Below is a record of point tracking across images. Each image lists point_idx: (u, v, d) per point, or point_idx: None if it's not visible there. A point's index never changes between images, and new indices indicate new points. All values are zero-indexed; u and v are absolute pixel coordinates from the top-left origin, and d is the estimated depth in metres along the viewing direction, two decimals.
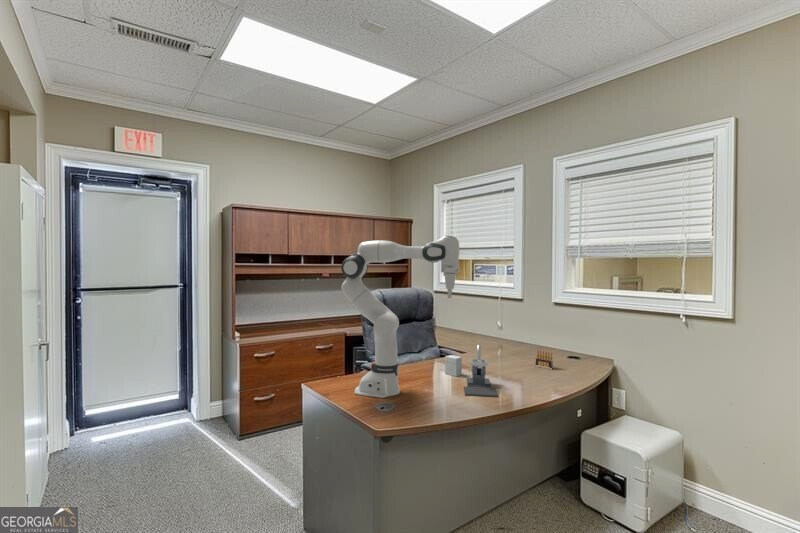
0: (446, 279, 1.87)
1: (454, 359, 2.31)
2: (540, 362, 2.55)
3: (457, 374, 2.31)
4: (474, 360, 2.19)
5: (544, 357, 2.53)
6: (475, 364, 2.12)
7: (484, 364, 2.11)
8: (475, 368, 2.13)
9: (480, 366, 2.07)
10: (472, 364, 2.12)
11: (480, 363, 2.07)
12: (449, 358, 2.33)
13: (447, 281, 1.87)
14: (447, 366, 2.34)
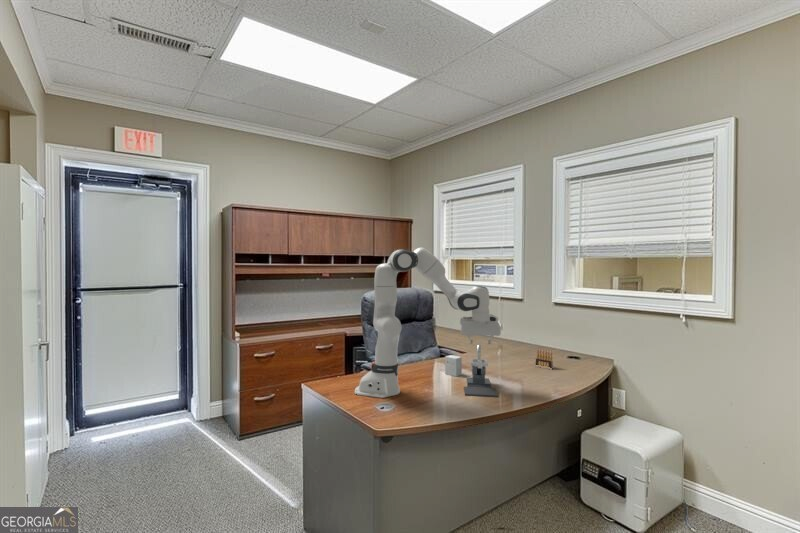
0: (499, 327, 2.06)
1: (454, 359, 2.31)
2: (540, 362, 2.55)
3: (457, 374, 2.31)
4: (474, 360, 2.19)
5: (544, 357, 2.53)
6: (475, 364, 2.12)
7: (484, 364, 2.11)
8: (475, 368, 2.13)
9: (480, 366, 2.07)
10: (472, 364, 2.12)
11: (480, 363, 2.07)
12: (449, 358, 2.33)
13: None
14: (447, 366, 2.34)
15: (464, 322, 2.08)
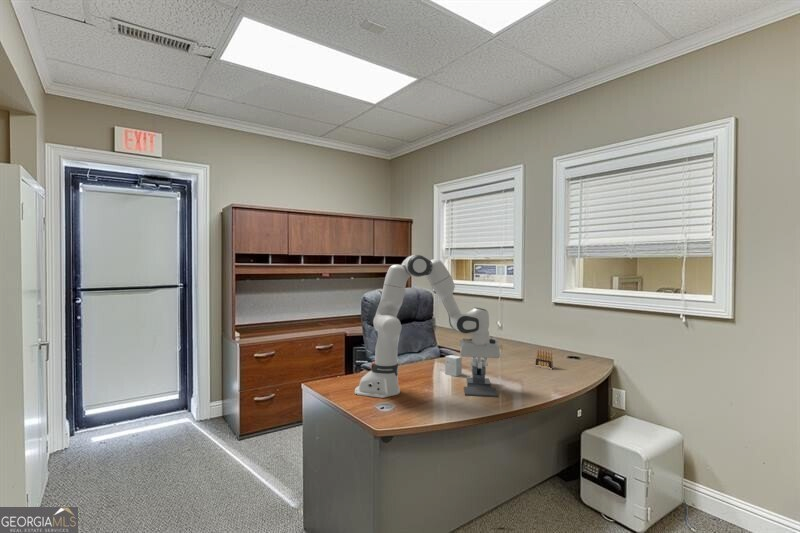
0: None
1: (454, 359, 2.31)
2: (540, 362, 2.55)
3: (457, 374, 2.31)
4: None
5: (544, 357, 2.53)
6: None
7: None
8: (475, 368, 2.13)
9: (480, 366, 2.07)
10: (472, 364, 2.12)
11: (480, 363, 2.07)
12: (449, 358, 2.33)
13: (499, 351, 2.07)
14: (447, 366, 2.34)
15: (464, 344, 2.08)
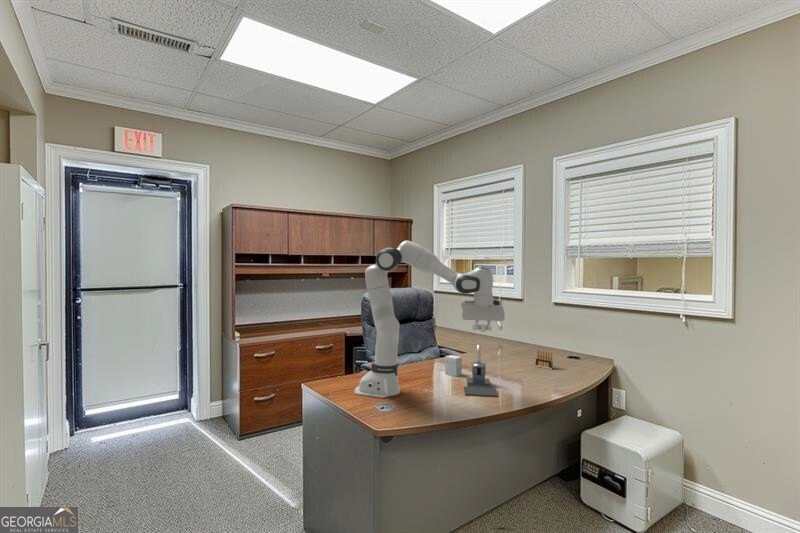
0: None
1: (454, 359, 2.31)
2: (540, 362, 2.55)
3: (457, 374, 2.31)
4: None
5: (544, 357, 2.53)
6: None
7: None
8: (475, 368, 2.13)
9: (483, 329, 1.93)
10: (474, 328, 1.98)
11: (483, 326, 1.93)
12: (449, 358, 2.33)
13: None
14: (447, 366, 2.34)
15: (466, 306, 1.94)
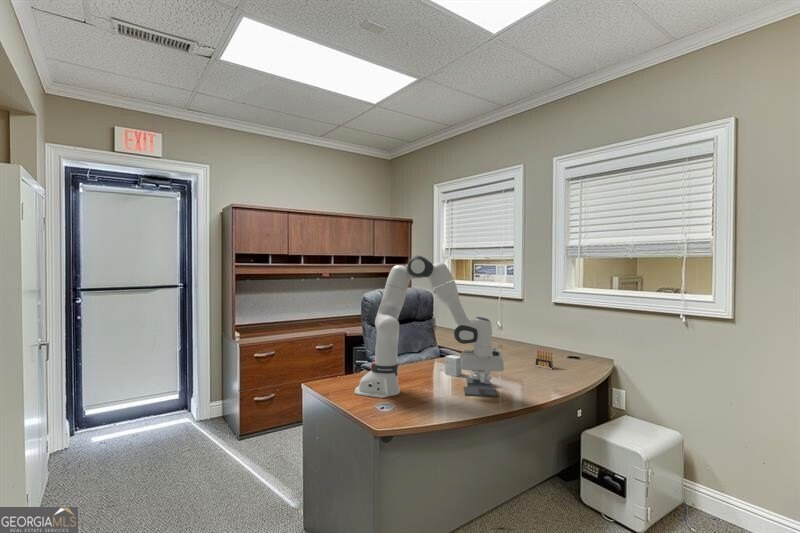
0: None
1: (454, 359, 2.31)
2: (540, 362, 2.55)
3: (457, 374, 2.31)
4: None
5: (544, 357, 2.53)
6: None
7: (487, 377, 1.98)
8: None
9: (482, 380, 1.93)
10: (474, 377, 1.98)
11: (482, 377, 1.93)
12: (449, 358, 2.33)
13: (503, 363, 1.93)
14: (447, 366, 2.34)
15: (465, 356, 1.94)
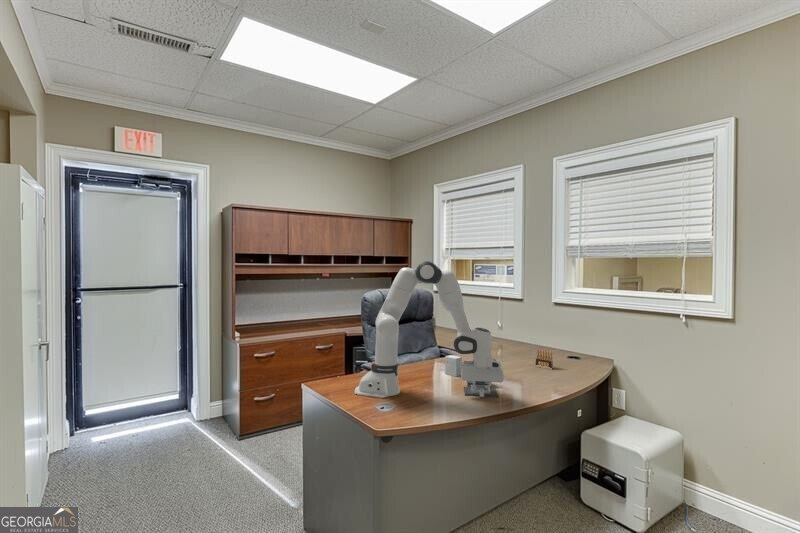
0: (502, 373, 1.92)
1: (454, 359, 2.31)
2: (540, 362, 2.55)
3: (457, 374, 2.31)
4: None
5: (544, 357, 2.53)
6: (477, 392, 1.98)
7: (486, 392, 1.97)
8: None
9: (482, 395, 1.93)
10: (473, 392, 1.98)
11: (482, 391, 1.93)
12: (449, 358, 2.33)
13: None
14: (447, 366, 2.34)
15: (465, 367, 1.94)
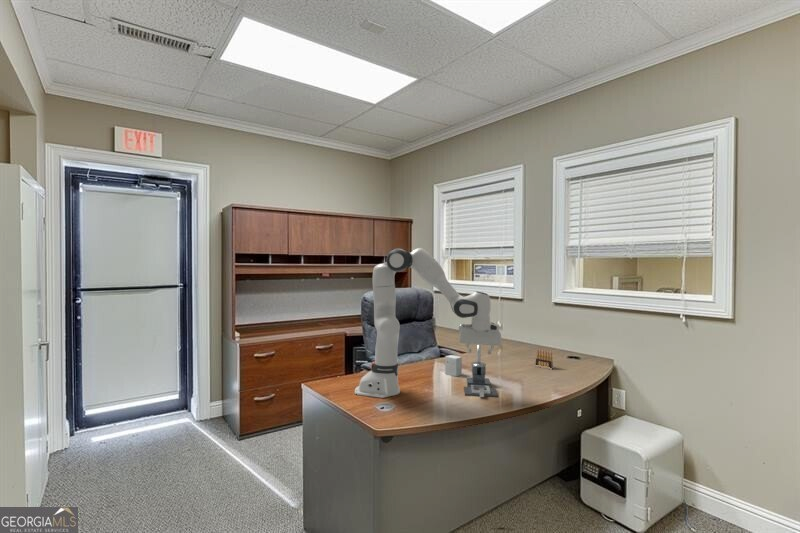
0: (500, 336, 1.94)
1: (454, 359, 2.31)
2: (540, 362, 2.55)
3: (457, 374, 2.31)
4: (475, 386, 2.05)
5: (544, 357, 2.53)
6: (477, 392, 1.98)
7: (486, 392, 1.97)
8: (475, 368, 2.13)
9: (482, 395, 1.93)
10: (473, 392, 1.98)
11: (482, 391, 1.93)
12: (449, 358, 2.33)
13: None
14: (447, 366, 2.34)
15: (463, 330, 1.96)
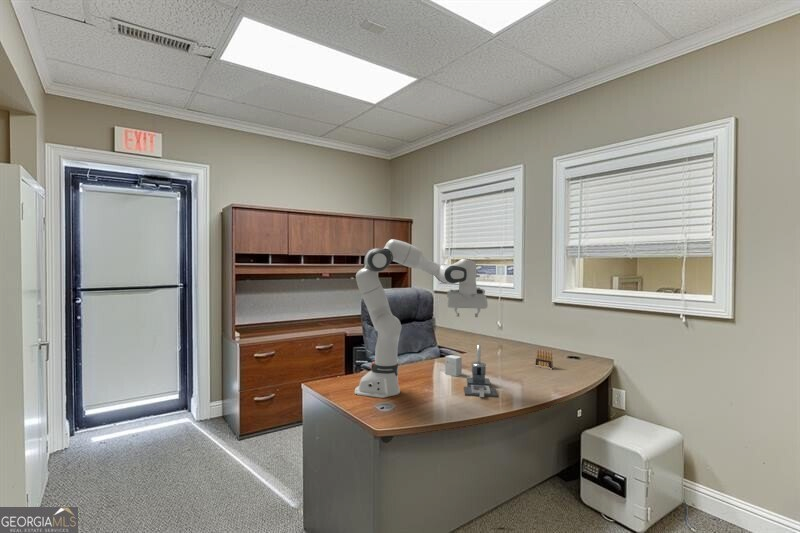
0: (486, 300, 2.05)
1: (454, 359, 2.31)
2: (540, 362, 2.55)
3: (457, 374, 2.31)
4: (475, 386, 2.05)
5: (544, 357, 2.53)
6: (477, 392, 1.98)
7: (486, 392, 1.97)
8: (475, 368, 2.13)
9: (482, 395, 1.93)
10: (473, 392, 1.98)
11: (482, 391, 1.93)
12: (449, 358, 2.33)
13: None
14: (447, 366, 2.34)
15: (451, 295, 2.07)
